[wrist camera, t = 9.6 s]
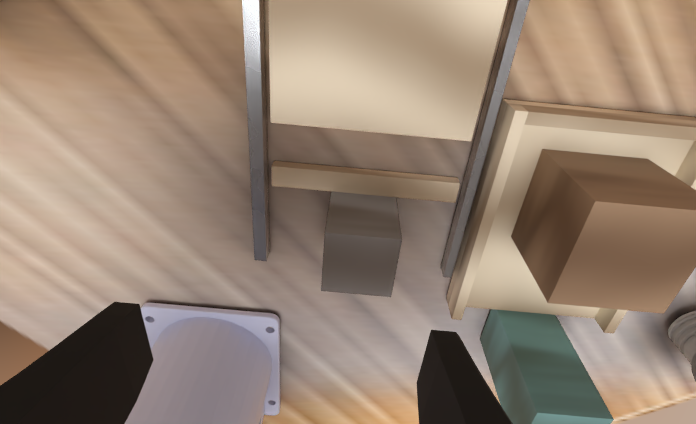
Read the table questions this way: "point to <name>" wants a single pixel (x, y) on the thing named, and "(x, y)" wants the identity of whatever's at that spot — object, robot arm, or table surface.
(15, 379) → the robot arm
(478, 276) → the cream sliding tray
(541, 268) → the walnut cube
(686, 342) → the light bulb
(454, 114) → the cream flat panel
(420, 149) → the table surface
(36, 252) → the table surface
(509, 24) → the lane rails
